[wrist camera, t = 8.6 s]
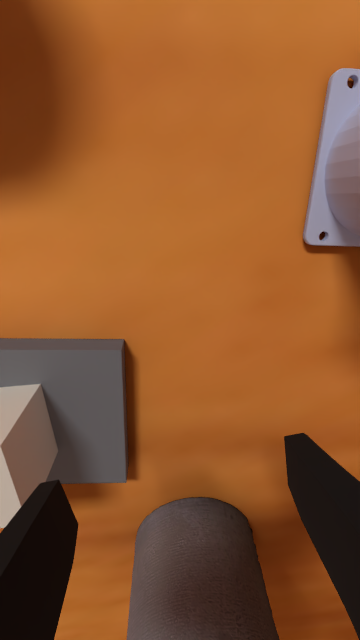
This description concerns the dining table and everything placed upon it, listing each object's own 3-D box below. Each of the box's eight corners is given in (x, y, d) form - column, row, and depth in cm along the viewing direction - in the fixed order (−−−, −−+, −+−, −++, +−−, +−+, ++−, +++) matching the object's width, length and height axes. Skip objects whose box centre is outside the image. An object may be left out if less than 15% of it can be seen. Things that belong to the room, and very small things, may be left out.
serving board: (124, 339, 20) (121, 350, 18) (128, 465, 23) (126, 482, 22) (-117, 337, 19) (-140, 348, 17) (-74, 468, 22) (-90, 486, 21)
